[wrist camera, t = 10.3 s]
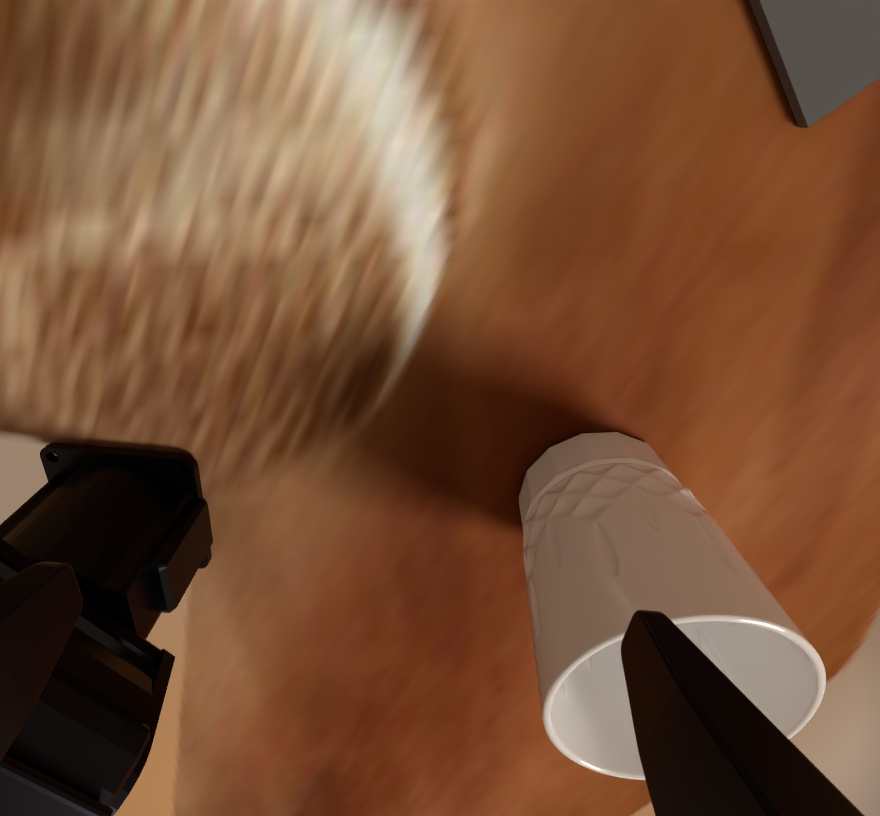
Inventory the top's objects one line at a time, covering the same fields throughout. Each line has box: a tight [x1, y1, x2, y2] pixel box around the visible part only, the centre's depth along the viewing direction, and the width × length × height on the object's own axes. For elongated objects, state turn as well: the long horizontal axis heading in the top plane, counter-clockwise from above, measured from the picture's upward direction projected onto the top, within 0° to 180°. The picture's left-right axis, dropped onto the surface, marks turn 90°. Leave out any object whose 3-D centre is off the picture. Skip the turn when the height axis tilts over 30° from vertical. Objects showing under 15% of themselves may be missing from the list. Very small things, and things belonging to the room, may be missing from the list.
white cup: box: [519, 432, 826, 780], centre depth 19 cm, size 8×8×10 cm
